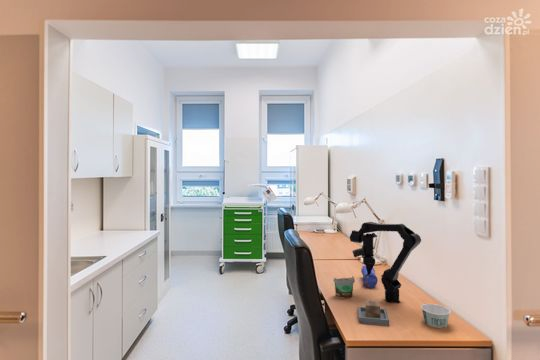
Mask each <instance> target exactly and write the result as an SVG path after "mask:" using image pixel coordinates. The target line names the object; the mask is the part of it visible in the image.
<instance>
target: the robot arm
mask: <svg viewBox="0 0 540 360" xmlns="http://www.w3.org/2000/svg"><path fill="white" fill-rule="evenodd" d="M375 232H397V234H398V235H399V237H401V239H402V240H403V243H402V248H401V250H400V251H399V254H398V255H397V257H396V259H394V261H393V263H392V264H391V267H390V268H388V269H387V268H386V269H385V270H384V271H383V273H382V275H380V277H381V278H380V281H381V284H382V285H383V288H384V299H385V301H386V302H387V303H397V304H399V303H400V302H401V301H400V289H401V287H402V284H401V282H400V281H399V280H398V279H399V272H400V271H401V270H402V268H403V266H404V265H405V262H406V261H407V260H408V258H409V256H410V255H411V253H412V251H414V250H415V249H416V248H417V247H418V246H419V245H420V244H421V242H422V238H421V236H420V235H419V234H418V233H415V232H414V231H413V230H411V229H410V228H409V227H407V226H406V225H405V224H404V223H378V222H373V221H368V222H363V223H362V224H361V226H360V229H359V230H356V229H354V230H351V233H350V235H349V240H350V243H356V244H361V243H362V245H361V248H356V249H353V250H352V255H353V257H354V258H358V257H361V258H362V263H363V265H364V266H365V265H366V270H367V274H368V275H370V273H371V271H372V268H374V266H375V264H376V259H375V253H374V249H375V247H374V238H377V237H378V235H377V234H376V233H375Z"/></svg>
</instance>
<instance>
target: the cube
mask: <svg viewBox="0 0 540 360" xmlns="http://www.w3.org/2000/svg"><path fill="white" fill-rule="evenodd" d="M380 304H381V303H380V301H377V300H376V301H375V300H365V307H366V317H372V318H380V308H381V305H380Z"/></svg>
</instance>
